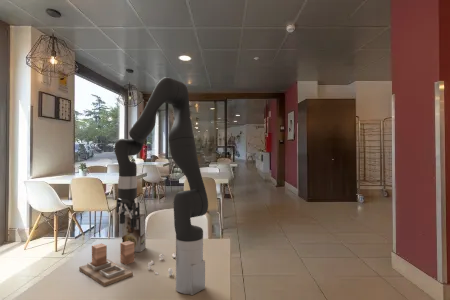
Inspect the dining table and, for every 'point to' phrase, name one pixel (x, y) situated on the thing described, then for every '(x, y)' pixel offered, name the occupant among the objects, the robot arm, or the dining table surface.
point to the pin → (127, 252)
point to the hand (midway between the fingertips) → (127, 225)
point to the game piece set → (161, 259)
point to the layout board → (104, 267)
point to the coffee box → (134, 232)
